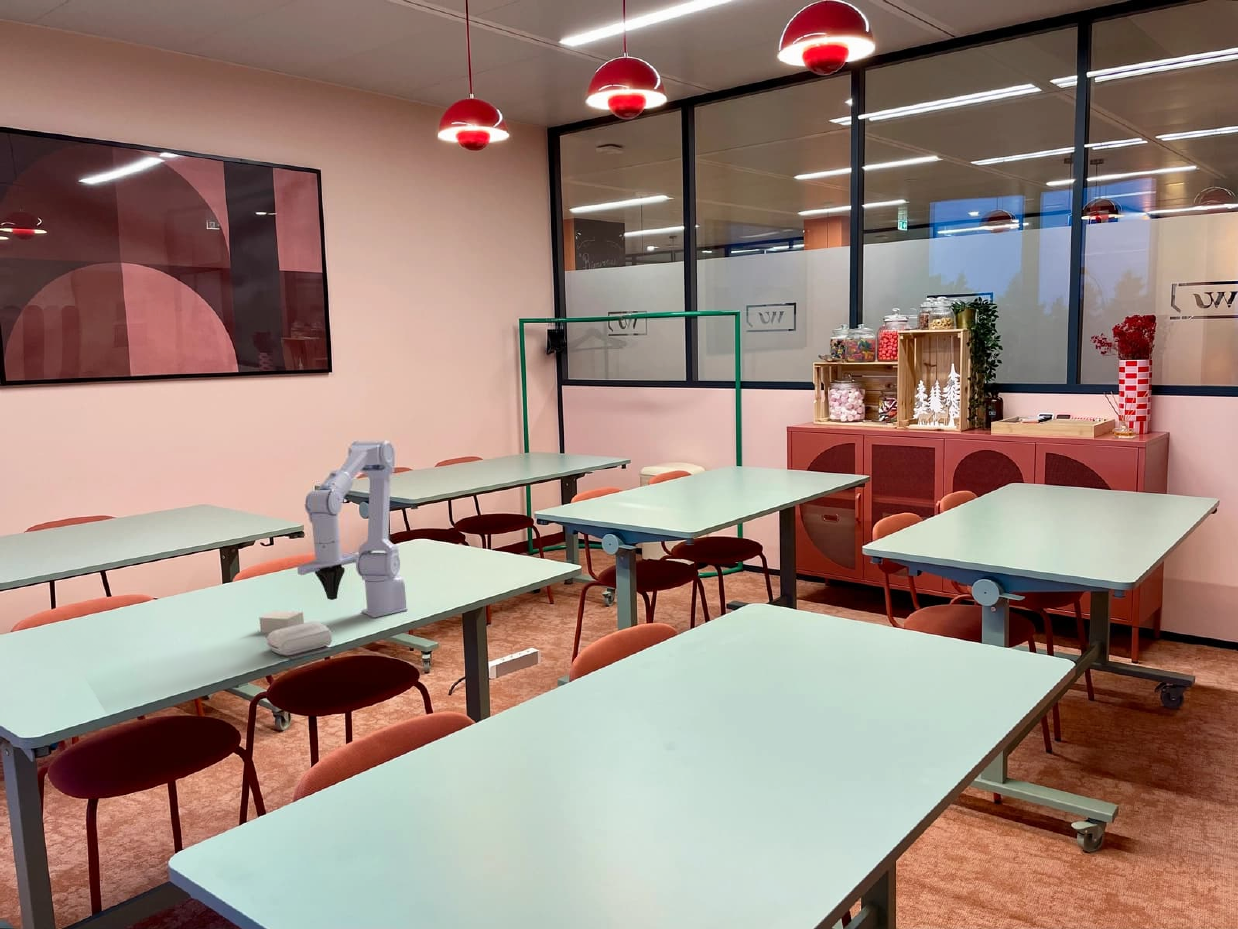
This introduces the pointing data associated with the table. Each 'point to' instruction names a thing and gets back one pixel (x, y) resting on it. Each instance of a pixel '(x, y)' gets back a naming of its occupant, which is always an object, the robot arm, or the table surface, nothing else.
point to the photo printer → (299, 638)
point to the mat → (309, 652)
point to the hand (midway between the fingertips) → (332, 598)
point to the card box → (280, 620)
